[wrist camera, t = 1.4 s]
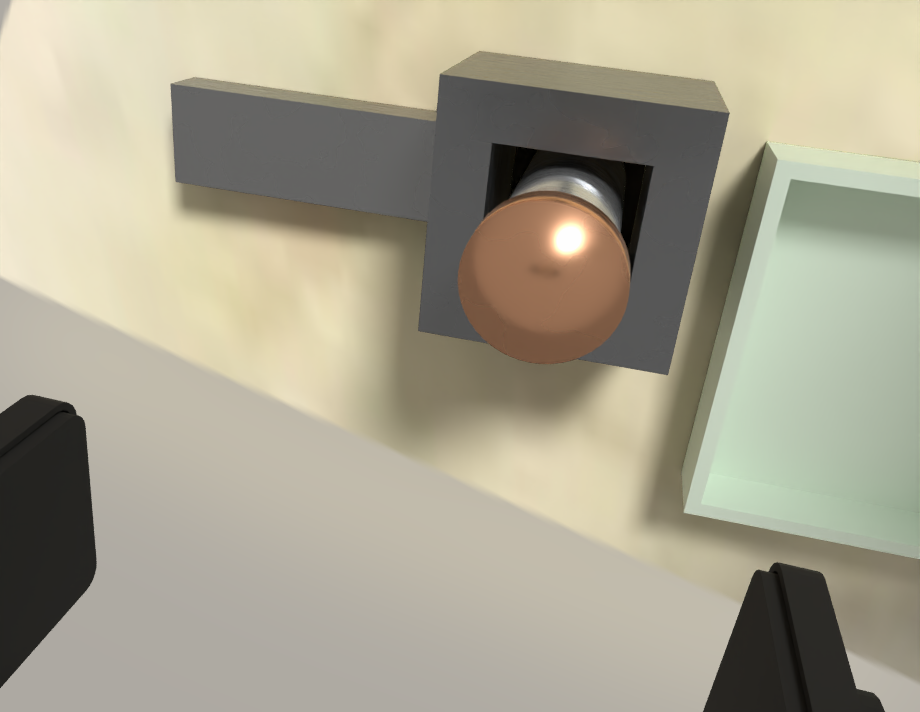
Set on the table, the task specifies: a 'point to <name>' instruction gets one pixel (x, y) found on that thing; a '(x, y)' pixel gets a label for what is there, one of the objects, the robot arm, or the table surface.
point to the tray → (818, 358)
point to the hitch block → (477, 167)
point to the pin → (550, 261)
